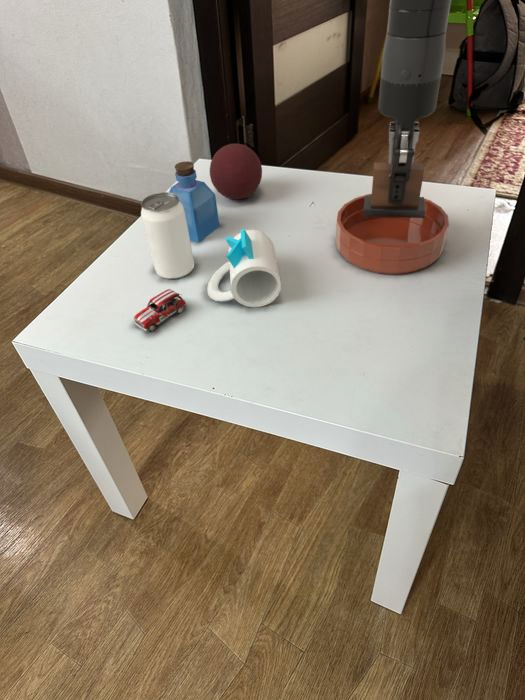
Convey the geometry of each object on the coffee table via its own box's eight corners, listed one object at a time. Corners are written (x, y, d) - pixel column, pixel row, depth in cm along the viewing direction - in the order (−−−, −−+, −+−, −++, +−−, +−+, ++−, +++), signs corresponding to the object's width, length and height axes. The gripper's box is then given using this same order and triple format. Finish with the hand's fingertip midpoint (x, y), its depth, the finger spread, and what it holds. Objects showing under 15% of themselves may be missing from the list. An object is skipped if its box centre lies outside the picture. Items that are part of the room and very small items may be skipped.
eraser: (422, 204, 77) (430, 160, 73) (424, 218, 74) (431, 173, 69) (364, 202, 79) (367, 159, 74) (363, 216, 76) (366, 172, 71)
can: (203, 266, 81) (190, 198, 73) (172, 285, 78) (156, 216, 70) (177, 253, 85) (163, 186, 76) (147, 270, 81) (129, 203, 73)
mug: (253, 204, 74) (260, 247, 66) (280, 249, 80) (289, 294, 72) (187, 238, 77) (185, 284, 69) (217, 279, 83) (219, 326, 75)
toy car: (133, 325, 72) (127, 308, 69) (176, 298, 75) (172, 281, 73) (148, 336, 70) (142, 319, 67) (191, 308, 74) (187, 291, 71)
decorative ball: (265, 184, 101) (262, 134, 94) (261, 208, 94) (257, 156, 87) (217, 185, 102) (210, 135, 95) (209, 209, 95) (201, 158, 88)
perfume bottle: (198, 242, 86) (186, 176, 78) (171, 234, 89) (157, 169, 81) (219, 226, 90) (210, 161, 82) (193, 218, 93) (181, 154, 84)
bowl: (439, 220, 87) (444, 193, 83) (446, 278, 75) (452, 250, 71) (340, 216, 90) (341, 190, 86) (331, 272, 78) (332, 245, 74)
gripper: (445, 89, 58) (422, 222, 70) (438, 56, 67) (419, 177, 79) (379, 90, 59) (368, 220, 71) (382, 57, 69) (371, 177, 81)
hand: (395, 197), depth 75 cm, fingers closed on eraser, 2 cm apart
